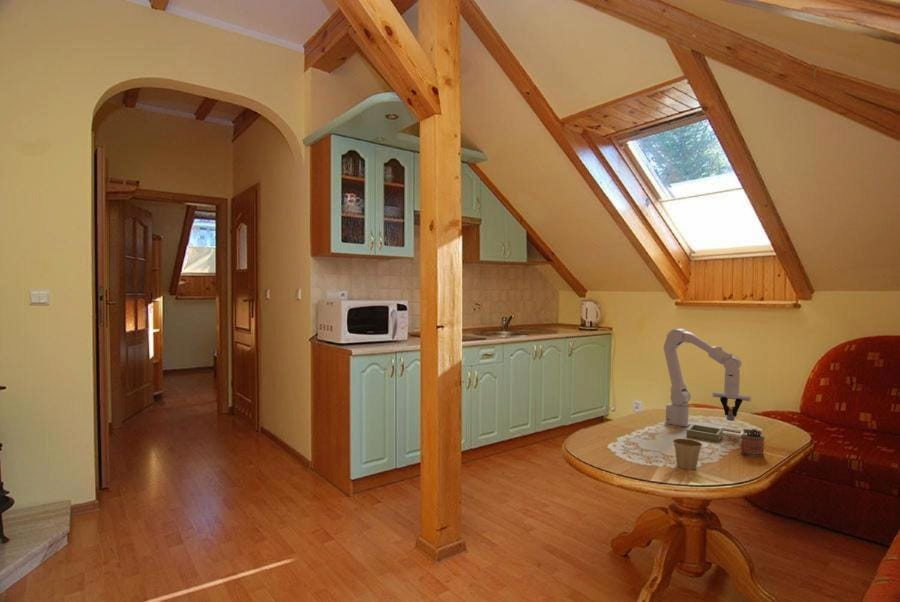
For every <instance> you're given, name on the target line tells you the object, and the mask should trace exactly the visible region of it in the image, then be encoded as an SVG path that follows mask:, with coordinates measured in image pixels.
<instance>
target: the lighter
mask: <svg viewBox="0 0 900 602" xmlns="http://www.w3.org/2000/svg"><path fill="white" fill-rule="evenodd" d="M742 430H743V432H744V435H741V437H742V438H741V447H740V449H741V450H740V456H742V457H746V458H747V457H748V458H765V454H764V446H765V445H764V443H765V438H766V437H765V436H763V435H762V430H760V429H755V428H751V429H750V428H748V429H747V428H744V429H742Z"/></svg>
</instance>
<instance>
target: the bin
mask: <svg viewBox="0 0 900 602" xmlns="http://www.w3.org/2000/svg"><path fill="white" fill-rule="evenodd" d="M723 432H724V430H723V429H720V428H719V427H712V426H707V425H702V424H701V425H700V424H695V423H694V424H693V423H692V424H691V425H690V426H689V427H688V428H686V436H687V438H691V437H692V438H691V439H697V438H698V440H702V439H704V440H703V441H708V440H710V441H709V442H715V443H719V442H720V440H721V439H722V437H723V436H724V435H723Z"/></svg>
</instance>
